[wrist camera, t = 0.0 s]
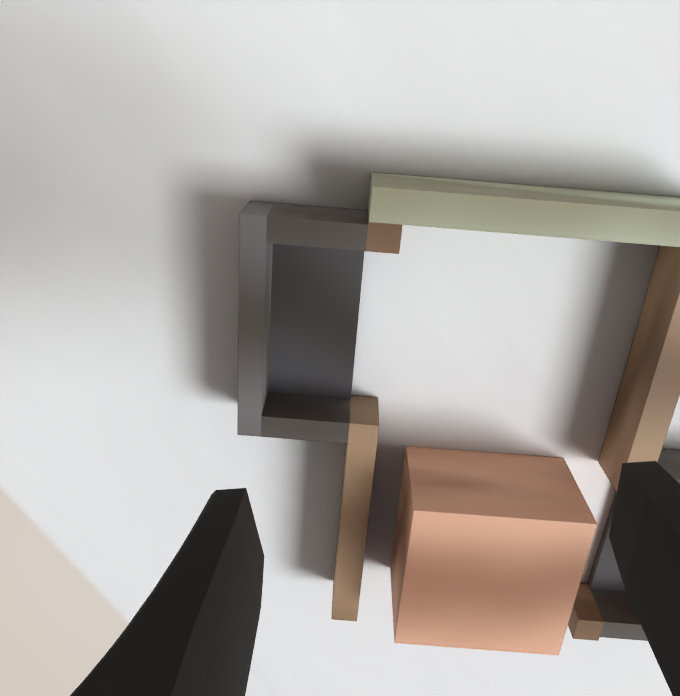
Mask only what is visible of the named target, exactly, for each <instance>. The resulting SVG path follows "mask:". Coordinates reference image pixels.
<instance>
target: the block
mask: <svg viewBox="0 0 680 696" xmlns="http://www.w3.org/2000/svg"><path fill="white" fill-rule="evenodd" d="M596 527H597V523H596V521H595V519H594V517H593V515H592V513H591V511H590V509H589V507H588V505H587V503H586V501H585V499H584V497H583V495H582V493H581V491H580V489H579V487H578V485H577V483H576V481H575V480H574V478H573V476H572V474H571V472H570V470H569V468H568V466H567V464H566V462H565V460H564V458H556V457H543V456H530V455H517V454H503V453H490V452H477V451H464V450H451V449H438V448H425V447H412V446H406V452H405V460H404V467H403V475H402V482H401V490H400V498H399V505H398V513H397V520H396V528H395V535H394V543H393V551H392V558H391V566H390V571H391V589H392V606H393V623H394V641H395V643H402V644H415V645H429V646H442V647H455V648H469V649H482V650H495V651H508V652H522V653H535V654H548V655H559V653H560V649H561V646H562V642H563V639H564V636H565V632H566V629H567V625H568V622H569V619H570V615H571V612H572V608H573V605H574V602H575V598H576V595H577V592H578V588H579V585H580V581H581V578H582V575H583V571H584V568H585V564H586V561H587V558H588V554H589V551H590V547H591V544H592V541H593V537H594V534H595V530H596Z"/></svg>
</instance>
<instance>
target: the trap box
mask: <svg viewBox="0 0 680 696" xmlns="http://www.w3.org/2000/svg"><path fill="white" fill-rule="evenodd" d="M402 225H413V226H426V227H438V228H450V229H463V230H475V231H487V232H500V233H512V234H525V235H537V236H549V237H562V238H574V239H586V240H599V241H611V242H623V243H636V244H648V245H660V248H659V252H658V255H657V259H656V262H655V266H654V269H653V273H652V276H651V280H650V283H649V287H648V290H647V294H646V297H645V301H644V304H643V308H642V311H641V315H640V318H639V322H638V325H637V329H636V332H635V336H634V339H633V343H632V346H631V350H630V353H629V356H628V360H627V363H626V367H625V370H624V374H623V377H622V381H621V384H620V388H619V391H618V395H617V398H616V402H615V405H614V409H613V412H612V416H611V419H610V423H609V426H608V430H607V433H606V437H605V440H604V444H603V447H602V451H601V454H600V458H599V461H598V462H599V464H600V466H601V467H602V469H603V471H604V472H605V474H606V476H607V477H608V479H609V481H610V482H611V484H612V486H613V488H614V489H615V491H616V494H617V489H618V483H619V478H620V473H621V467H622V463H630V462H645V461H656V462H658V463H659V464H660V465H661V466H662V467H663V468H664V469H665V470H666V471H667V472H668V473H669V474H671V475H672V476H673V477H674V478H675V479H676V480H677V481H678V482H679V483H680V450H672V449H662V446H663V443H664V440H665V437H666V434H667V431H668V428H669V425H670V422H671V419H672V416H673V413H674V410H675V407H676V404H677V401H678V398H679V395H680V197H668V196H656V195H643V194H631V193H619V192H606V191H594V190H582V189H569V188H557V187H545V186H532V185H520V184H508V183H495V182H483V181H471V180H458V179H446V178H434V177H421V176H409V175H397V174H384V173H372V172H371V180H370V191H369V201H368V210H357V209H345V208H332V207H320V206H308V205H295V204H283V203H271V202H258V201H250V202H249V203H248V205H247V206H246V207H245V208H244V210H243V211H242V212H241V213H240V232H239V333H238V434H237V435H248V436H261V437H273V438H286V439H298V440H311V441H323V442H336V443H346V451H345V462H344V473H343V484H342V495H341V506H340V517H339V528H338V538H337V549H336V560H335V571H334V582H333V600H332V619H335V620H348V621H357V614H358V605H359V596H360V588H361V579H362V570H363V562H364V553H365V544H366V536H367V527H368V518H369V510H370V501H371V492H372V484H373V475H374V466H375V458H376V449H377V440H378V432H379V411H378V397H366V396H353V395H351V389H352V378H353V367H354V356H355V345H356V334H357V324H358V313H359V302H360V291H361V280H362V269H363V259H364V251H371V252H383V253H395V254H399V250H400V241H401V232H402ZM616 494H615V497H614V500H613V503H612V507H611V510H610V513H609V516H608V520H607V523H606V526H605V529H604V533H603V536H602V539H601V542H600V546H599V549H598V552H597V555H596V559H595V562H594V565H593V569H592V572H591V575H590V578H589V582H588V584H584V583H580V585H579V588H578V592H577V595H576V598H575V602H574V605H573V608H572V612H571V615H570V619H569V622H568V626H569V629H570V632H571V634H572V637H573V639H585V640H599V637H607V638H620V639H632V640H645V641H648V639H647V637H646V635H645V633H644V631H643V628H642V626H641V624H640V622H639V619H638V617H637V615H636V612H635V610H634V608H633V606H632V603H631V601H630V599H629V597H628V594H627V592H626V590H625V587H624V584H623V581H622V578H621V575H620V572H619V569H618V565H617V562H616V559H615V555H614V552H613V549H612V545H611V542H610V539H609V532H610V526H611V521H612V516H613V510H614V505H615V499H616Z"/></svg>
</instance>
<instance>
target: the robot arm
mask: <svg viewBox="0 0 680 696" xmlns="http://www.w3.org/2000/svg"><path fill="white" fill-rule="evenodd" d="M609 539H610V542H611V545H612V549H613V552H614V555H615V559H616V562H617V565H618V569H619V572H620V575H621V578H622V581H623V584H624V587H625V590H626V592H627V594H628V597H629V599H630V601H631V603H632V606H633V608H634V610H635V612H636V615H637V617H638V619H639V622H640V624H641V626H642V628H643V631H644V633H645V635H646V637H647V639H648V642H649V644H650V646H651V648H652V651H653V653H654V655H655V657H656V659H657V662H658V664H659V666H660V668H661V671H662V673H663V675H664V677H665V679H666V682H667V684H668V686H669V688H670V691H671V693H672V695H673V696H680V483H679V482H678V481H677V480H676V479H675V478H674V477H673V476H672V475H671V474H669V473H668V472H667V471H666V470H665V469H664V468H663V467H662V466H661V465H660V464H659V463H658V462H656V461H645V462H630V463H622V467H621V473H620V478H619V483H618V489H617V494H616V499H615V505H614V510H613V516H612V521H611V526H610V532H609ZM263 567H264V554H263V550H262V546H261V543H260V539H259V535H258V531H257V527H256V524H255V520H254V516H253V512H252V509H251V505H250V501H249V497H248V493H247V490H246V488H241V489H226V490H216V491H215V492H214V493H213V494H212V495H211V496H210V498H209V500H208V502H207V504H206V505H205V507H204V509H203V511H202V512H201V514H200V516H199V518H198V519H197V521H196V523H195V525H194V526H193V528H192V530H191V531H190V533H189V535H188V536H187V538H186V540H185V541H184V543H183V545H182V546H181V548H180V550H179V551H178V553H177V554H176V556H175V557H174V559H173V561H172V562H171V564H170V565H169V567H168V568H167V570H166V571H165V573H164V574H163V576H162V578H161V579H160V581H159V582H158V584H157V585H156V587H155V588H154V590H153V591H152V593H151V594H150V595H149V597H148V598H147V600H146V601H145V602H144V604H143V605H142V606H141V608H140V609H139V611H138V612H137V613H136V615H135V616H134V618H133V619H132V620H131V622H130V623H129V625H128V626H127V627H126V629H125V630H124V632H123V633H122V634H121V635H120V637H119V638H118V639H117V640H116V642H115V643H114V645H113V646H112V647H111V648H110V649H109V651H108V652H107V653H106V654H105V656H104V657H103V658H102V659H101V660H100V662H99V663H98V664H97V665H96V667H95V668H94V669H93V670H92V671H91V673H90V674H89V675H88V676H87V677H86V678H85V680H84V681H83V682H82V683H81V684H80V685H79V686H78V687H77V688H76V690H75V691H74V692H73V693H72V694H71V696H245V693H246V687H247V682H248V676H249V671H250V665H251V660H252V654H253V649H254V643H255V637H256V632H257V626H258V620H259V615H260V609H261V597H262V584H263Z"/></svg>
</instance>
